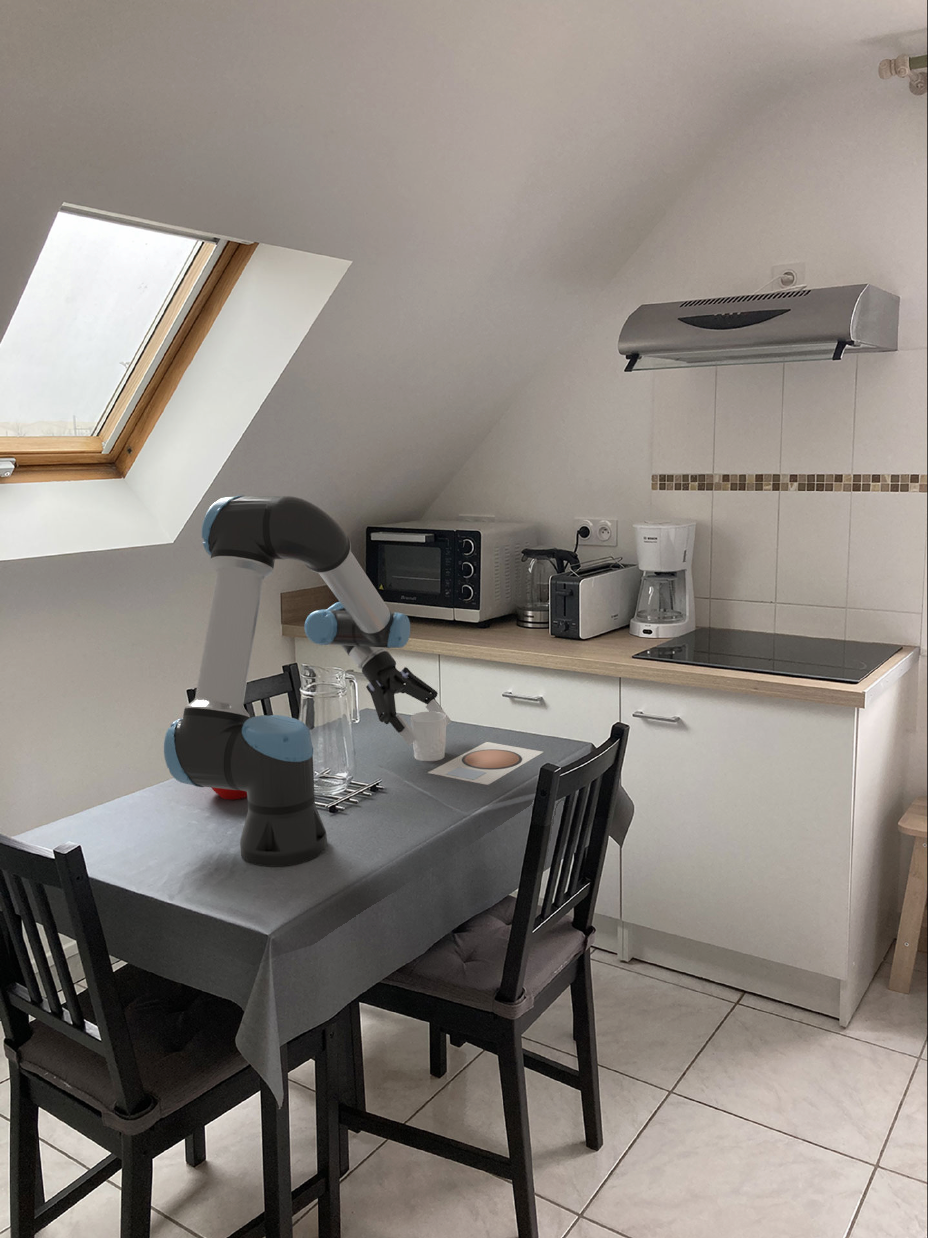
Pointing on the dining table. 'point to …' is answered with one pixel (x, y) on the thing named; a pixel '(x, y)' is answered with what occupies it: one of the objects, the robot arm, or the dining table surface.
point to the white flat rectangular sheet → (482, 776)
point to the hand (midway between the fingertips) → (430, 733)
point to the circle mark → (491, 759)
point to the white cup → (429, 735)
